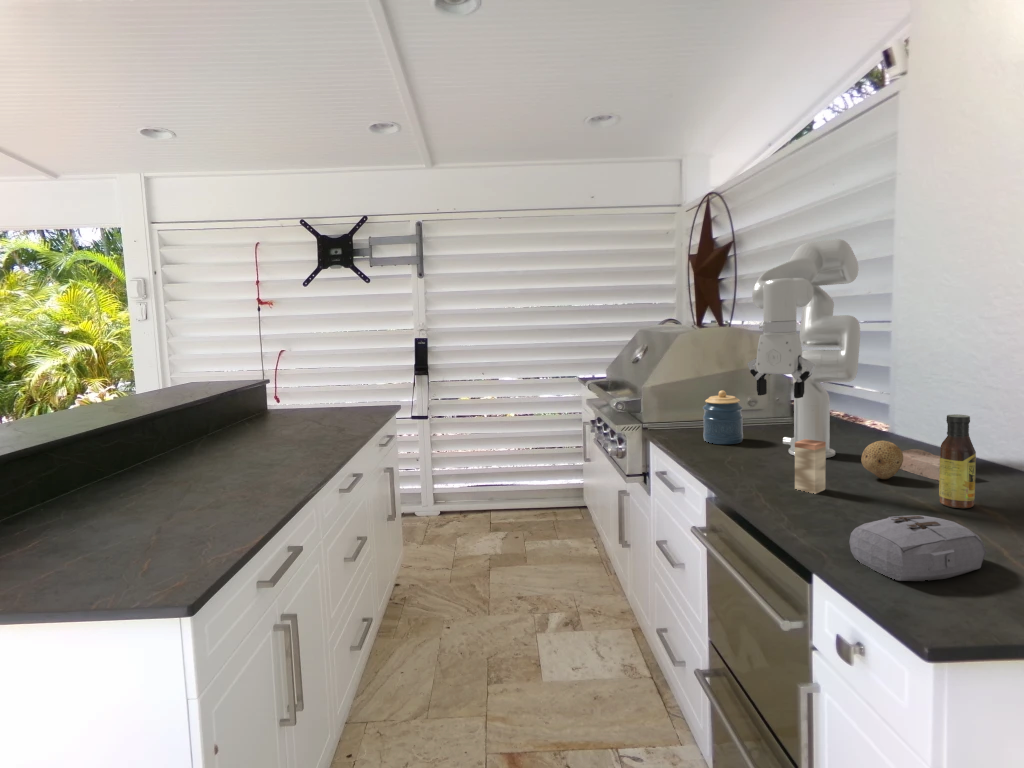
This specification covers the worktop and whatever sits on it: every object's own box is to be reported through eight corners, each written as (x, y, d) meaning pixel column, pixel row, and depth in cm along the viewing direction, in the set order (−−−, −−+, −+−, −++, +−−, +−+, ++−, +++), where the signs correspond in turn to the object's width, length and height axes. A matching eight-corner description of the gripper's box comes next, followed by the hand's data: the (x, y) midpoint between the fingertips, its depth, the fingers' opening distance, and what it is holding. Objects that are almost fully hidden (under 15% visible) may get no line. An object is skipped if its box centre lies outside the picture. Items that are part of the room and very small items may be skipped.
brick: (972, 480, 145) (973, 462, 144) (943, 483, 144) (943, 465, 143) (917, 465, 161) (917, 448, 160) (890, 467, 160) (890, 450, 159)
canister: (699, 443, 199) (698, 392, 197) (708, 436, 210) (707, 387, 208) (739, 446, 192) (738, 393, 190) (746, 438, 203) (745, 388, 201)
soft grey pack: (908, 592, 92) (1010, 574, 96) (909, 541, 91) (1012, 525, 95) (836, 555, 106) (927, 541, 110) (837, 511, 105) (928, 498, 109)
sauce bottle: (976, 511, 123) (979, 419, 121) (940, 507, 127) (942, 417, 125) (972, 502, 129) (975, 413, 127) (937, 498, 132) (939, 412, 130)
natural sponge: (880, 485, 144) (880, 446, 143) (852, 476, 152) (853, 439, 151) (911, 481, 146) (912, 442, 144) (882, 472, 154) (883, 435, 153)
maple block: (794, 489, 144) (794, 442, 143) (805, 485, 147) (805, 438, 146) (815, 494, 140) (815, 445, 139) (825, 489, 143) (825, 441, 142)
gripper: (739, 330, 151) (740, 395, 153) (806, 328, 137) (806, 400, 139) (756, 328, 155) (756, 392, 157) (822, 327, 141) (821, 397, 143)
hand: (779, 396), depth 148 cm, fingers open, 9 cm apart
